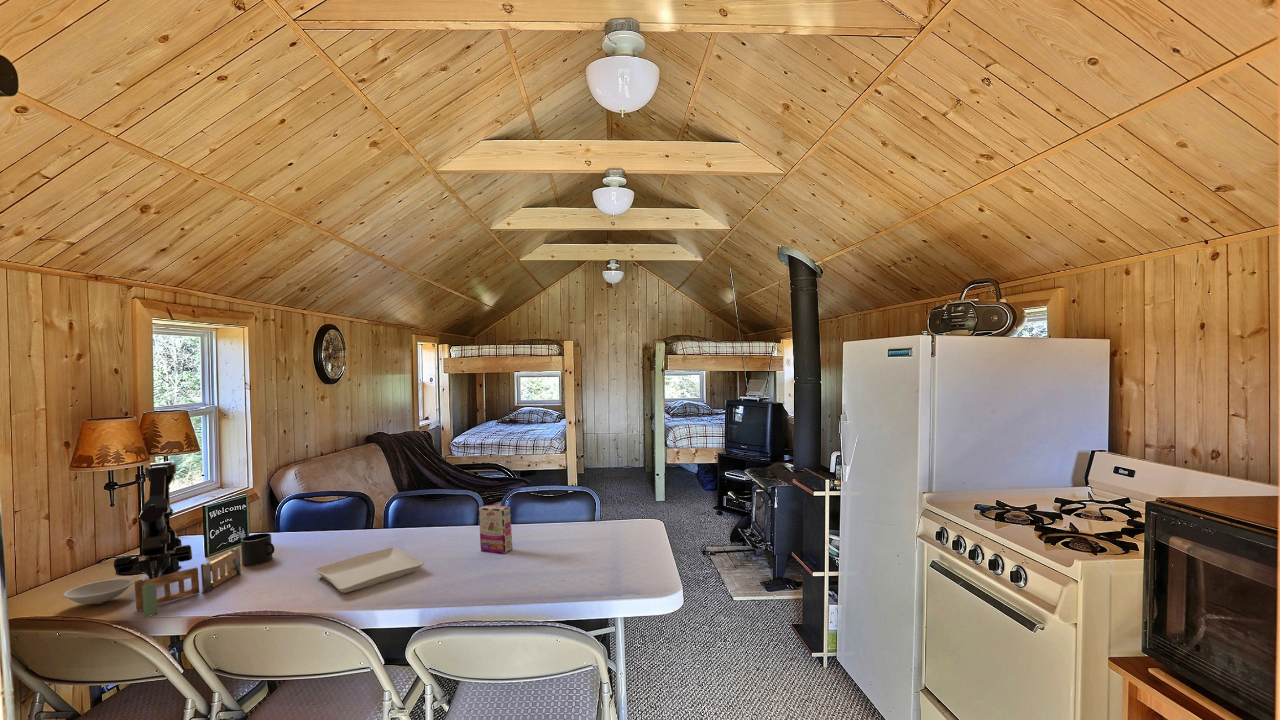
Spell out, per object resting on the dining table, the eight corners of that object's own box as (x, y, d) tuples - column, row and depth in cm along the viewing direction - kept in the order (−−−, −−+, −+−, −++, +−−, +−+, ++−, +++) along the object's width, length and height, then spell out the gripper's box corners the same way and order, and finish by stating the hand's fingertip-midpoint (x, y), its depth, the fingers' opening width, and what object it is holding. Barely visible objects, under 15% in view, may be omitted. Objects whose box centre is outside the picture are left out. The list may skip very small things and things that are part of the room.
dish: (49, 615, 176) (48, 599, 175) (90, 595, 190) (89, 580, 190) (110, 611, 177) (109, 595, 177) (147, 591, 191) (146, 576, 191)
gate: (198, 591, 188) (196, 565, 188) (199, 592, 187) (197, 566, 186) (136, 609, 176) (134, 581, 176) (137, 610, 175) (135, 582, 175)
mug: (264, 566, 210) (263, 541, 210) (235, 565, 212) (234, 541, 212) (284, 556, 219) (283, 533, 219) (256, 556, 221) (255, 532, 221)
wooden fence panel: (200, 593, 188) (198, 565, 188) (235, 573, 204) (234, 547, 204) (208, 592, 188) (206, 565, 188) (242, 572, 204) (240, 547, 204)
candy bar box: (513, 549, 216) (511, 506, 216) (505, 554, 212) (503, 509, 211) (488, 546, 220) (486, 504, 220) (480, 551, 216) (477, 507, 215)
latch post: (153, 612, 175) (151, 582, 174) (157, 613, 174) (155, 583, 173) (143, 615, 172) (141, 585, 172) (148, 616, 171) (146, 586, 171)
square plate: (394, 555, 217) (393, 545, 217) (425, 573, 197) (425, 562, 197) (314, 577, 198) (313, 566, 198) (340, 600, 178) (339, 587, 178)
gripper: (112, 532, 178) (108, 578, 169) (189, 519, 189) (189, 562, 180) (118, 551, 185) (114, 596, 176) (192, 537, 196) (192, 580, 187)
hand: (153, 583), depth 180 cm, fingers closed
